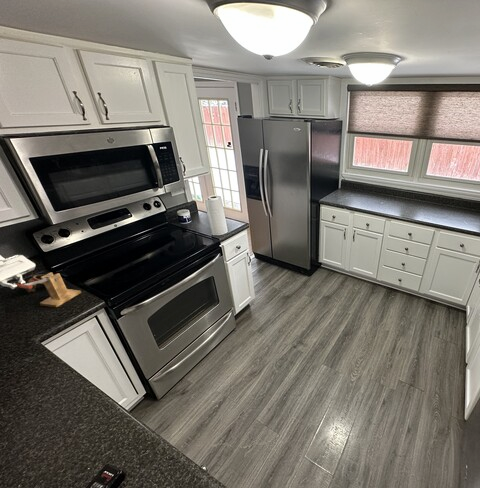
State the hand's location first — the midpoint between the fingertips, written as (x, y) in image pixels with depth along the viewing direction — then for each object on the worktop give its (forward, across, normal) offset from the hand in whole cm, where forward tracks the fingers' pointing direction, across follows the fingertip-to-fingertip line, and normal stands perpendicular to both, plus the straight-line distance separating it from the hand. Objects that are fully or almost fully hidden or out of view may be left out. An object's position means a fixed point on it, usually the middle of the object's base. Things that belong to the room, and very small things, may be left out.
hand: (19, 285), depth 116 cm
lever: (+3, -5, -1) cm, 6 cm away
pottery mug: (-2, -15, -23) cm, 27 cm away
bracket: (+11, -11, -9) cm, 18 cm away
